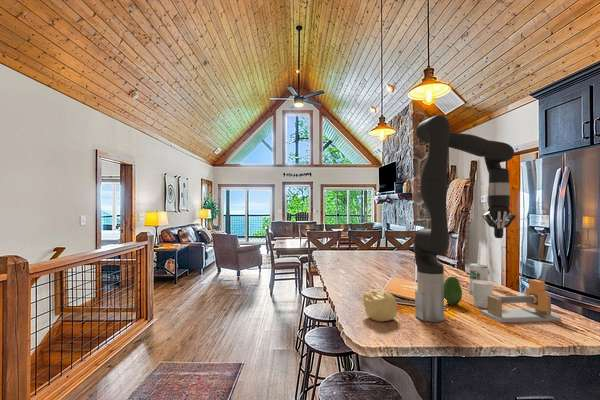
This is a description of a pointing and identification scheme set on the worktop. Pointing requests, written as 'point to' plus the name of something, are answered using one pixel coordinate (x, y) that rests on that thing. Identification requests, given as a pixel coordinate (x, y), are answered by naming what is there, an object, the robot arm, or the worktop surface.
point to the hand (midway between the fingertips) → (498, 238)
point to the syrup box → (478, 273)
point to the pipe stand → (517, 310)
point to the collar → (538, 289)
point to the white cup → (481, 292)
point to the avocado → (452, 291)
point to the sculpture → (380, 305)
